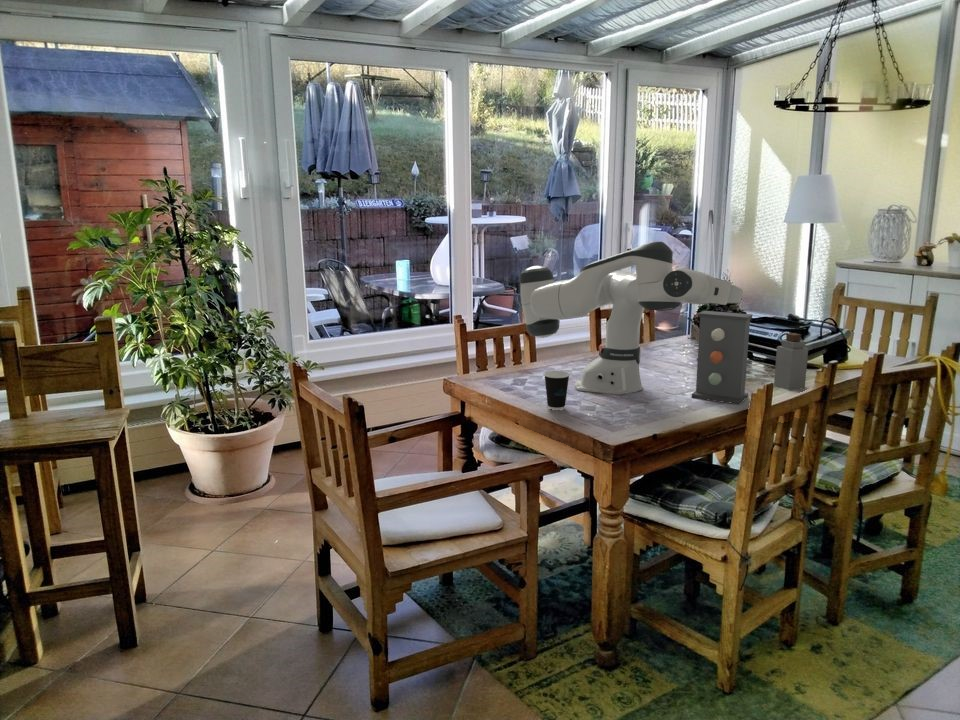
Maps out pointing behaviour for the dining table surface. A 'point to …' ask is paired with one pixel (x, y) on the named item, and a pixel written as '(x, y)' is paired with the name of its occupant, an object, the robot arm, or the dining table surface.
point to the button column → (733, 356)
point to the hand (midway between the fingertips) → (712, 291)
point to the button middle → (716, 356)
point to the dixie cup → (556, 388)
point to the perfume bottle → (791, 363)
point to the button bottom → (715, 378)
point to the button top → (718, 334)
